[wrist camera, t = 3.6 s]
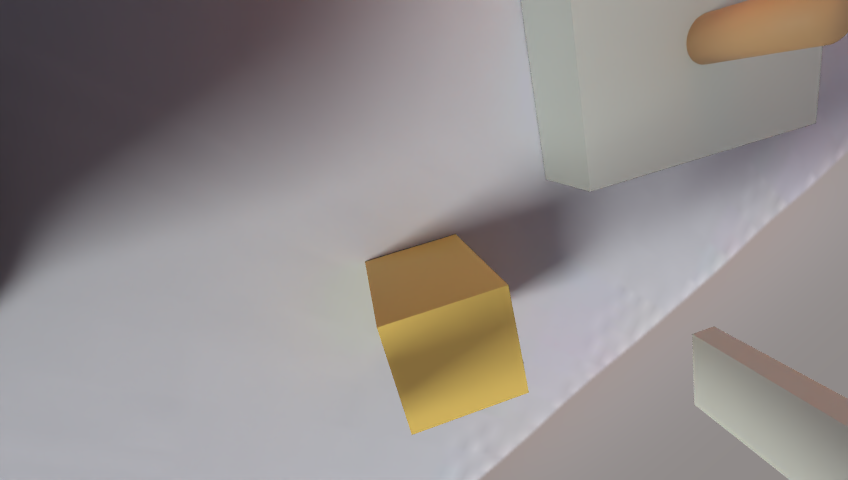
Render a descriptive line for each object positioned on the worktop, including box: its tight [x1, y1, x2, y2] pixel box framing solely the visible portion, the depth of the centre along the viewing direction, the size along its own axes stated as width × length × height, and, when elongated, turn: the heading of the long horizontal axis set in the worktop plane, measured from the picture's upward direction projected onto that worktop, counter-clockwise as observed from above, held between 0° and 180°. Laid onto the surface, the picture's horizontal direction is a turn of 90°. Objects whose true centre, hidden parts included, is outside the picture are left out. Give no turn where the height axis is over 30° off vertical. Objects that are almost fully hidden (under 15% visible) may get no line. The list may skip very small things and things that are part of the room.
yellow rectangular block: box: [365, 234, 529, 435], centre depth 18 cm, size 5×5×7 cm
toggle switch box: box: [521, 0, 848, 192], centre depth 16 cm, size 12×10×8 cm
